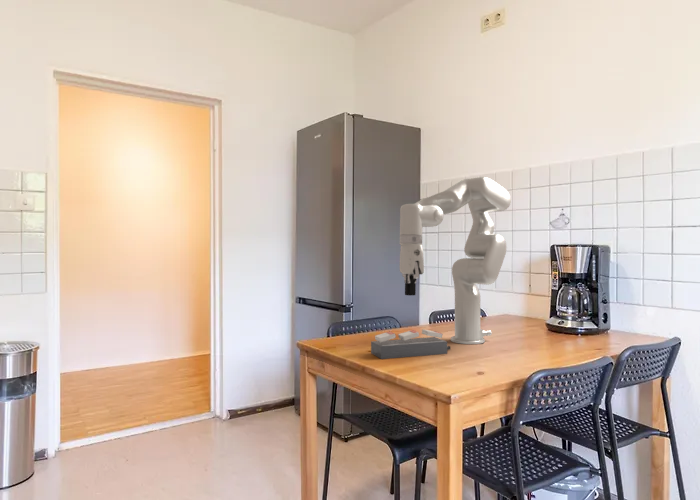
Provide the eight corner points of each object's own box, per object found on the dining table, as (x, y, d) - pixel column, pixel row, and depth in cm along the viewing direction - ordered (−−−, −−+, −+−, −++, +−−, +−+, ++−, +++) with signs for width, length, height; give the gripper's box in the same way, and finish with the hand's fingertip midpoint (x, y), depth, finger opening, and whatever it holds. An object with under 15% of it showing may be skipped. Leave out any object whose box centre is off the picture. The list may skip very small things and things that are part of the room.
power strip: (443, 347, 173) (443, 335, 173) (456, 352, 165) (456, 340, 165) (371, 353, 165) (371, 340, 165) (381, 359, 156) (380, 345, 156)
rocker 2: (413, 333, 167) (412, 329, 167) (419, 336, 163) (418, 331, 163) (398, 338, 165) (398, 333, 165) (404, 340, 161) (403, 336, 161)
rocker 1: (390, 335, 164) (389, 330, 164) (395, 337, 160) (394, 333, 160) (375, 339, 163) (374, 335, 163) (380, 342, 159) (379, 337, 158)
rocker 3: (435, 335, 170) (436, 331, 170) (441, 337, 166) (442, 333, 166) (421, 333, 168) (422, 328, 168) (427, 335, 164) (428, 331, 164)
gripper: (431, 240, 158) (430, 297, 158) (411, 241, 172) (410, 293, 172) (410, 240, 156) (409, 297, 156) (392, 241, 170) (391, 293, 170)
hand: (410, 295), depth 164 cm, fingers closed
